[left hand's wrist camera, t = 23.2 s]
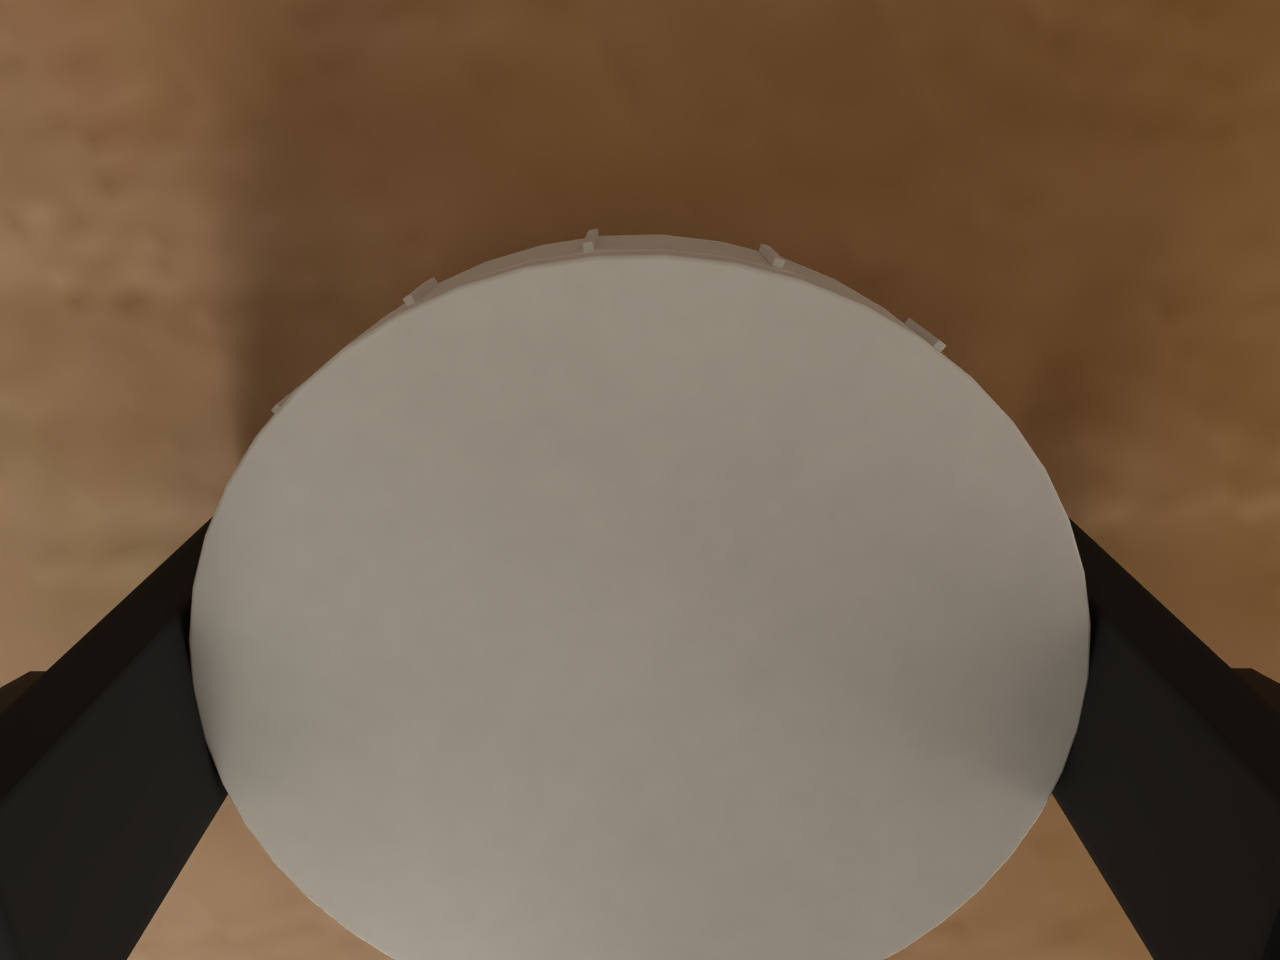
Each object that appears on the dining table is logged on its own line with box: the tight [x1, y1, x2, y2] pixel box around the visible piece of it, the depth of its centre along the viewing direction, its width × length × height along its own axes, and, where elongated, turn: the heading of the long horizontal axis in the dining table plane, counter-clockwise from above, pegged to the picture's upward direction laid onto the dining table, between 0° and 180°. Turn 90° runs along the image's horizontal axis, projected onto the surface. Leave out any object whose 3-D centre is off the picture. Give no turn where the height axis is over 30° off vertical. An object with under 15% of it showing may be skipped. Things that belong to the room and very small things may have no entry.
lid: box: [189, 229, 1091, 960], centre depth 11 cm, size 10×10×2 cm
